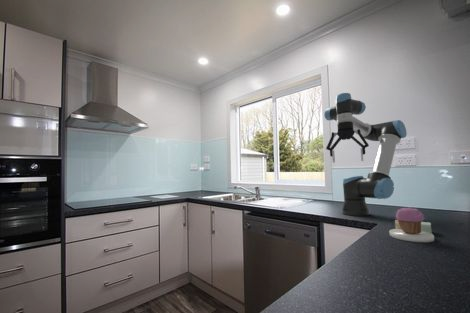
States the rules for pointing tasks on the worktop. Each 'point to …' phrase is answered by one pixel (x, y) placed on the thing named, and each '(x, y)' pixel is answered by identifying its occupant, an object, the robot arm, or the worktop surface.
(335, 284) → the worktop surface
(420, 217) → the cupcake
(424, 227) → the sage block
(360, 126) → the robot arm
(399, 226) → the beech brick
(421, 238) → the plate
